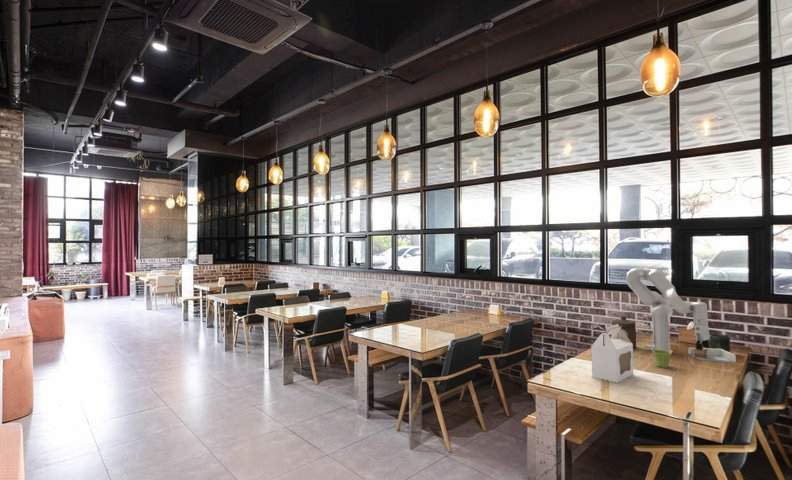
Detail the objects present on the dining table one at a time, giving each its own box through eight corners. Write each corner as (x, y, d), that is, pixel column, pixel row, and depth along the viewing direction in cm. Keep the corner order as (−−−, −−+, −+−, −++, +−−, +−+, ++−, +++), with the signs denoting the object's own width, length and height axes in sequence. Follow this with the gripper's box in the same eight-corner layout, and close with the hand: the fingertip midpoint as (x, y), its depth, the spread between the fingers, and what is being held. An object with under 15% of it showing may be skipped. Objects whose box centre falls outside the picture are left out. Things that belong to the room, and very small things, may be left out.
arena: (700, 361, 251) (700, 353, 251) (688, 355, 266) (688, 347, 266) (735, 362, 247) (735, 355, 247) (721, 356, 262) (721, 348, 262)
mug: (731, 356, 261) (730, 338, 261) (702, 353, 270) (702, 335, 270) (731, 353, 269) (730, 335, 269) (703, 349, 278) (703, 332, 279)
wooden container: (607, 345, 294) (607, 314, 294) (623, 343, 298) (623, 313, 298) (624, 350, 280) (624, 318, 280) (641, 348, 284) (640, 317, 284)
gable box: (616, 383, 213) (615, 330, 214) (591, 377, 223) (590, 326, 224) (633, 374, 227) (632, 324, 228) (609, 369, 237) (608, 321, 238)
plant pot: (674, 369, 236) (674, 354, 236) (656, 368, 238) (656, 353, 238) (667, 364, 245) (667, 350, 245) (650, 363, 247) (649, 349, 247)
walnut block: (703, 358, 255) (703, 350, 255) (694, 356, 259) (694, 348, 259) (707, 357, 258) (706, 349, 258) (697, 355, 262) (697, 347, 262)
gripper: (701, 323, 251) (703, 351, 250) (713, 320, 260) (715, 347, 259) (687, 322, 257) (689, 349, 256) (699, 319, 266) (701, 345, 266)
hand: (702, 348), depth 258 cm, fingers open, 9 cm apart
